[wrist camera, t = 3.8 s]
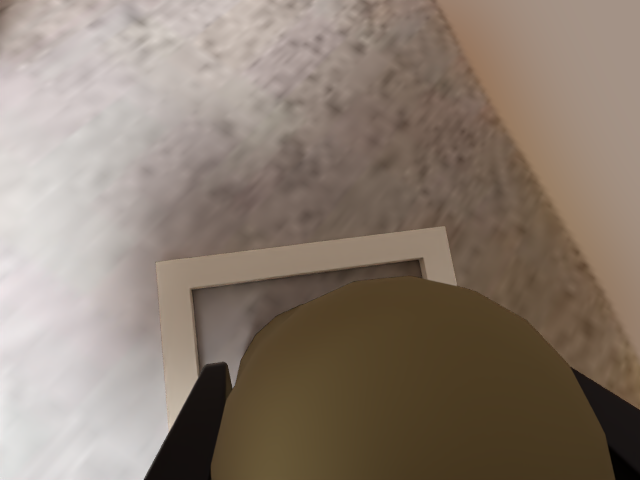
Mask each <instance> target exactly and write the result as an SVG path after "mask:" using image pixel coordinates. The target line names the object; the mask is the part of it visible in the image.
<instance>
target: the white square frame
mask: <svg viewBox="0 0 640 480" xmlns="http://www.w3.org/2000/svg"><path fill="white" fill-rule="evenodd" d="M418 259H419V262H420V267H421V273H422V278H423V279H427V280H432V281H436V282H441V283H445V284H450V285H455V286H457V282H456V277H455V272H454V268H453V263H452V258H451V253H450V248H449V243H448V238H447V234H446V229H445V226H441V227H433V228H425V229H417V230H408V231H400V232H392V233H384V234H376V235H368V236H360V237H352V238H344V239H336V240H328V241H320V242H312V243H304V244H296V245H288V246H280V247H272V248H264V249H255V250H247V251H239V252H231V253H223V254H215V255H207V256H199V257H191V258H183V259H175V260H167V261H159V262H155V263H156V275H157V288H158V301H159V313H160V326H161V339H162V351H163V364H164V377H165V390H166V402H167V415H168V428H169V431H170V429H171V427H172V425H173V424H174V422H175V420H176V418H177V416H178V414H179V412H180V410H181V409H182V407H183V405H184V403H185V401H186V399H187V397H188V395H189V394H190V392H191V390H192V388H193V386H194V384H195V382H196V380H197V379H198V377H199V375H200V371H199V361H198V350H197V339H196V328H195V318H194V307H193V296H192V290H193V289H201V288H208V287H216V286H223V285H231V284H238V283H246V282H253V281H261V280H268V279H276V278H283V277H291V276H298V275H306V274H313V273H321V272H328V271H336V270H343V269H351V268H358V267H366V266H373V265H381V264H388V263H396V262H403V261H411V260H418Z"/></svg>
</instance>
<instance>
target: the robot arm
mask: <svg viewBox="0 0 640 480" xmlns="http://www.w3.org/2000/svg"><path fill="white" fill-rule="evenodd" d="M570 368H571V370H572V371H573V373H574V375H575V377H576V379H577V381H578V383H579V385H580V387H581V389H582V390H583V392H584V394H585V396H586V398H587V400H588V402H589V404H590V406H591V408H592V409H593V411H594V413H595V415H596V417H597V419H598V421H599V423H600V425H601V427H602V429H603V431H604V433H605V436H606V440H607V445H608V449H609V454H610V458H611V463H612V467H613V472H614V476H615V480H640V410H639V409H637V408H636V407H634V406H633V405H631V404H629V403H628V402H626V401H625V400H623V399H621V398H620V397H618V396H617V395H615V394H613V393H612V392H610V391H609V390H607V389H605V388H604V387H602V386H601V385H599V384H597V383H596V382H594V381H593V380H591V379H589V378H588V377H586V376H585V375H583V374H581V373H580V372H578V371H577V370H575V369H573V368H572V367H570ZM231 391H232V384H231V379H230V374H229V369H228V365H227V363H225V362H219V363H213V364H207V365H206V366H204V368H203V369H202V371H201V373H200V375H199V377H198V379H197V380H196V382H195V384H194V386H193V388H192V390H191V392H190V394H189V395H188V397H187V399H186V401H185V403H184V405H183V407H182V409H181V410H180V412H179V414H178V416H177V418H176V420H175V422H174V424H173V425H172V427H171V429H170V431H169V433H168V435H167V437H166V439H165V440H164V442H163V444H162V446H161V448H160V450H159V452H158V454H157V455H156V457H155V459H154V461H153V463H152V465H151V467H150V469H149V470H148V472H147V474H146V476H145V478H144V480H211V462H212V458H213V454H214V450H215V445H216V441H217V437H218V433H219V428H220V424H221V420H222V416H223V412H224V407H225V403H226V400H227V398H228V396H229V395H230V393H231Z"/></svg>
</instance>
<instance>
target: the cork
mask: <svg viewBox="0 0 640 480" xmlns="http://www.w3.org/2000/svg"><path fill="white" fill-rule="evenodd" d="M211 480H615V476H614V472H613V467H612V463H611V458H610V454H609V449H608V445H607V440H606V436H605V433H604V431H603V429H602V427H601V425H600V423H599V421H598V419H597V417H596V415H595V413H594V411H593V409H592V408H591V406H590V404H589V402H588V400H587V398H586V396H585V394H584V392H583V390H582V389H581V387H580V385H579V383H578V381H577V379H576V377H575V375H574V373H573V371H572V370H571V368H570V366H569V364H568V363H567V362H566V361H565V360H564V359H563V358H562V357H561V356H560V355H559V354H558V353H557V352H556V351H555V350H554V349H553V347H552V346H551V345H550V344H549V343H548V342H547V341H546V340H545V339H544V338H543V337H542V336H541V335H540V334H539V333H538V332H537V331H536V330H535V328H534V327H533V326H532V325H531V324H530V323H529V322H528V321H527V320H525V319H523V318H521V317H520V316H518V315H516V314H514V313H513V312H511V311H509V310H507V309H506V308H504V307H502V306H500V305H499V304H497V303H495V302H494V301H492V300H490V299H488V298H487V297H485V296H483V295H481V294H480V293H478V292H476V291H473V290H470V289H467V288H464V287H459V286H455V285H450V284H445V283H441V282H436V281H432V280H427V279H423V278H418V277H414V276H401V277H391V278H382V279H372V280H362V281H354V282H352V283H350V284H347V285H345V286H343V287H341V288H339V289H336V290H334V291H332V292H330V293H328V294H325V295H323V296H321V297H319V298H316V299H314V300H312V301H310V302H308V303H305V304H302V305H300V306H297V307H295V308H293V309H291V310H288V311H286V312H284V313H282V314H280V315H277V316H276V317H275V318H274V319H273V320H272V321H271V322H269V323H268V324H267V325H266V326H265V327H264V328H263V329H262V330H261V331H260V332H258V333H257V334H256V335H255V337H254V339H253V340H252V342H251V344H250V346H249V347H248V349H247V351H246V352H245V354H244V356H243V358H242V359H241V362H240V366H239V370H238V375H237V379H236V383H235V386H234V388H233V389H232V391H231V393H230V395H229V396H228V398H227V400H226V403H225V407H224V412H223V416H222V420H221V424H220V428H219V433H218V437H217V441H216V445H215V450H214V454H213V458H212V462H211Z"/></svg>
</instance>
